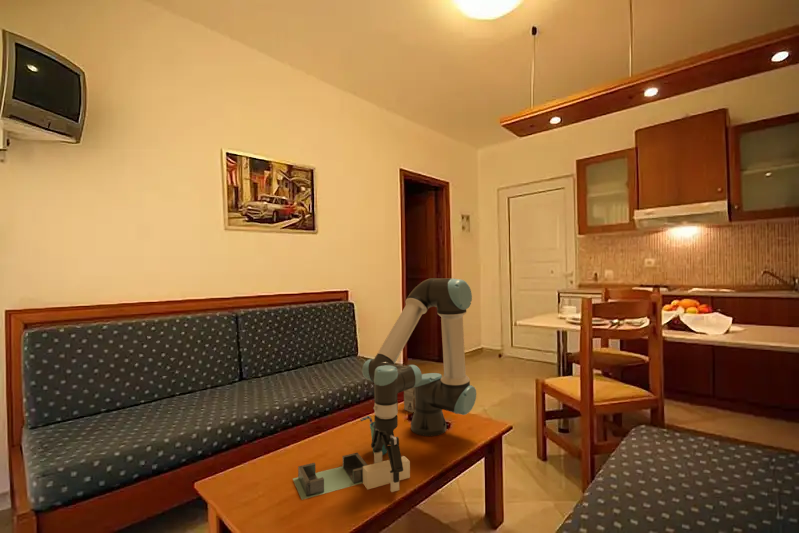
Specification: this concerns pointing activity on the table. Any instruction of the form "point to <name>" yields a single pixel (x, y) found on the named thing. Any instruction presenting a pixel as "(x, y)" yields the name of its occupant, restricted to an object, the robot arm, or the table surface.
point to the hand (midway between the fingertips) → (386, 481)
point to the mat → (328, 481)
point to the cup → (373, 432)
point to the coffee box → (409, 400)
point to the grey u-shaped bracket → (354, 467)
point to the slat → (383, 473)
